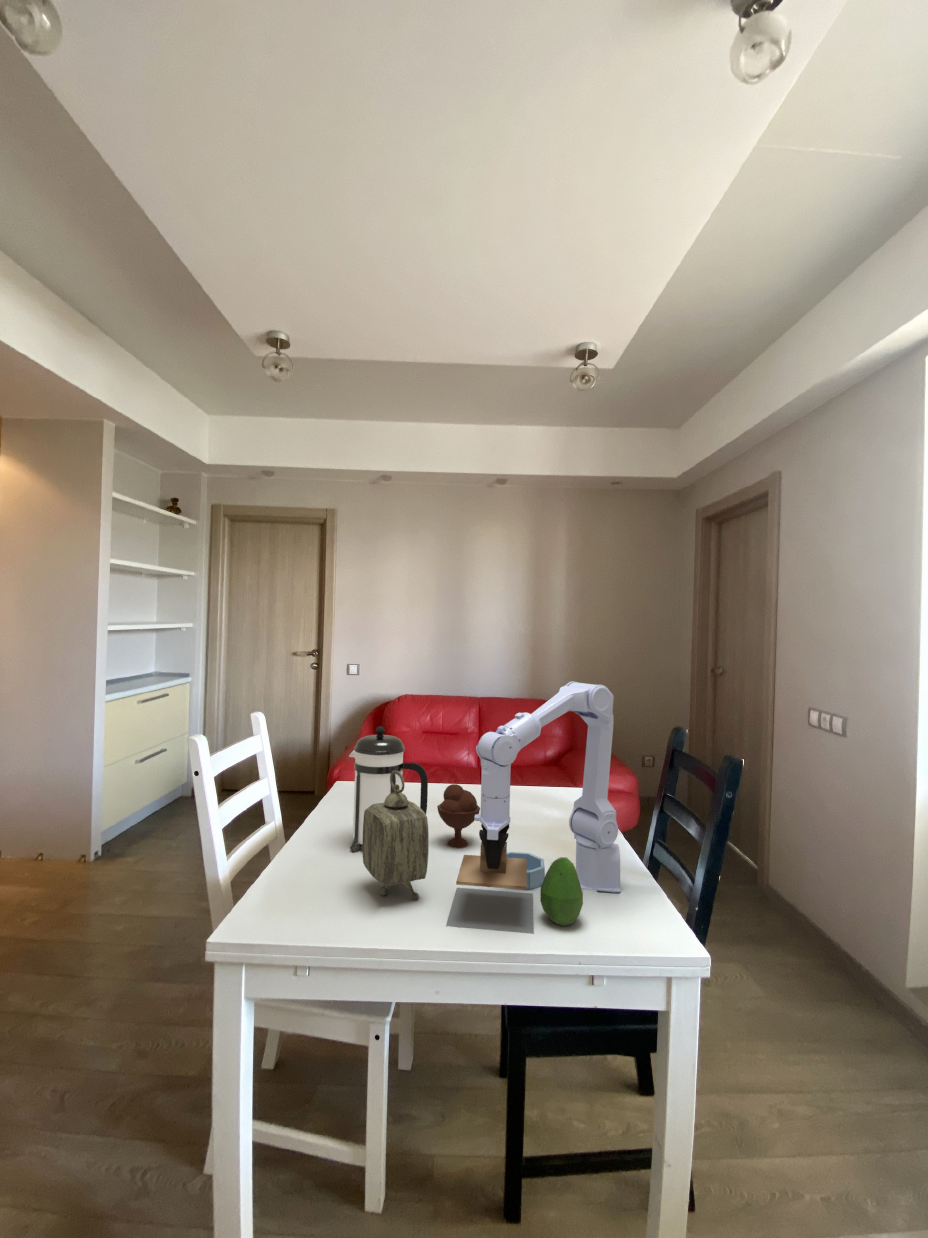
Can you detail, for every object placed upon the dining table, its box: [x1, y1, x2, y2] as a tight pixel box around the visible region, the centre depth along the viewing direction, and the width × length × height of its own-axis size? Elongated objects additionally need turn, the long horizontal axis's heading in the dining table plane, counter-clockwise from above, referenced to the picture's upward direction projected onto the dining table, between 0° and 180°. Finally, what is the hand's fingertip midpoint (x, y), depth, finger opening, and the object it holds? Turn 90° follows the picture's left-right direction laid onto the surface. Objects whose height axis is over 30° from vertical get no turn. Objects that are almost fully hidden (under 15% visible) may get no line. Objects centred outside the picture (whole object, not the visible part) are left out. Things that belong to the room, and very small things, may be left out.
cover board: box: [455, 841, 528, 891], centre depth 110 cm, size 13×13×6 cm
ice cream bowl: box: [436, 783, 481, 849], centre depth 145 cm, size 11×11×15 cm
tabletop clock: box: [361, 770, 430, 902], centre depth 116 cm, size 14×9×25 cm, turn 30°
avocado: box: [539, 857, 584, 927], centre depth 106 cm, size 8×8×12 cm
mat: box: [445, 887, 535, 935], centre depth 110 cm, size 16×16×1 cm
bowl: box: [507, 851, 546, 891], centre depth 124 cm, size 11×11×4 cm
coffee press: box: [348, 725, 429, 853], centre depth 143 cm, size 17×16×30 cm
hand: (493, 864), depth 110 cm, fingers closed on cover board, 3 cm apart
